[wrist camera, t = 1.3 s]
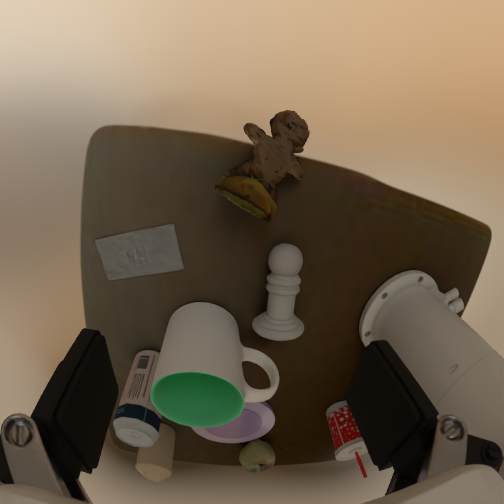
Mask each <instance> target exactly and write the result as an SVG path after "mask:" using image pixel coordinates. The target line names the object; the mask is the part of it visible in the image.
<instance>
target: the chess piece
mask: <svg viewBox="0 0 504 504" xmlns="http://www.w3.org/2000/svg"><path fill="white" fill-rule="evenodd" d="M268 263H269V267H270V270H271V271H272V272H271V273H270V274H269V275H268V276H267V281H268V283H267V284H266V289H267V290H268V291H269V294H268V304H267V311H266V312H263V313H262V314H260V315H258V316H257V317H256V318H254V320H253V323H252V326H253V329H254V331H255V332H256V333H258V334H259V335H260V336H262V337H264V338H267V339H271V340H277V341H287V340H292V339H295V338H297V337H299V336H300V335H301V334H302V333H303V331H304V324H303V323H302V321H301V320H300V319H298V318H297V317H296V316H295V315H294V314H293V312H294V305H295V297H296V294H297V293H299V291H300V287H299V286H298V285H299V284H300V283H301V279H300V278H299V275H298V273H299V271H300V270H301V267H302V263H303V257H302V254H301V251H300V250H299V249H298V248H297V247H296V246H294V245H291V244H279V245H277V246H275V247H274V248H273V249H272V251H271V252H270V255H269V260H268Z"/></svg>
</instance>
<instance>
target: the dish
mask: <svg viewBox="0 0 504 504" xmlns="http://www.w3.org/2000/svg"><path fill="white" fill-rule="evenodd" d="M274 423H275V415H274V411H273V409H272V407H271V406H270V405H269V404H268V403H266V402H265V401H263V402H257V403H252V402H245V406H244V409H243V411H242V413H241V414H240V415H239V416H238V417H237V418H236V419H235V420H233V421H231V422H229V423H227V424H224V425H221V426H217V427H209V428H198V427H191V428H192V429H193V430H194V431H195V432H196V433H197V434H199V435H200V436H202V437H204V438H206V439H209V440H212V441H216V442H222V443H241V442H247V441H251V440H254V439H257V438H259V437H261V436H263V435H265V434H266V433H267V432H269V431H270V430H271V428H272V427H273V425H274Z"/></svg>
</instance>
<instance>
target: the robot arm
mask: <svg viewBox="0 0 504 504" xmlns="http://www.w3.org/2000/svg"><path fill="white" fill-rule="evenodd" d="M458 296H459V292H458V290H457V289H456V288H453V289H452V290H450V291H448V292H447V293H446V294H444V293H441V292H440V291H439V290H438V287H437V284H436V283H435V281H434V279H432V278H431V277H430V276H429V275H427V274H426V273H424V272H422V271H418V270H410V271H405V272H402V273H400V274H397V275H395V276H394V277H392V278H390V279H389V280H387V281H386V282H385V283H384V284H383V285H381V286H380V287H379V288H378V289H377V291H376V292H375V293H374V294H373V295H372V297H371V298H370V299H369V301H368V302H367V304H366V306H365V308H364V310H363V312H362V315H361V318H360V324H359V335H360V338H361V340H362V342H363V344H364V345H365V347H366V348H365V350H364V352H363V355H362V357H361V359H360V362H359V364H358V366H357V369H356V371H355V373H354V375H353V378H352V380H351V382H350V384H349V386H348V388H347V390H346V393H345V400H346V402H347V404H348V407H349V409H350V411H351V413H352V416H353V418H354V420H355V423H356V425H357V427H358V429H359V432H360V434H361V436H362V439H363V441H364V443H365V446H366V448H367V450H368V453H369V455H370V457H371V460H372V462H373V463H374V465H377V466H378V468H379V471H381V470H384V469H387V468H390V467H392V466H393V468H394V473H393V476H392V479H391V482H390V484H389V487H388V489H387V492H386V494H385V496H383V497H381V498H378V499H375V500H372V501H369V502H365V503H362V504H504V359H503V358H502V357H501V356H500V355H499V354H498V353H497V352H496V351H495V350H494V349H493V348H492V347H491V346H490V345H489V344H488V343H487V342H486V341H485V340H484V339H483V338H482V337H481V336H480V335H479V334H478V333H476V332H475V331H474V330H473V329H472V328H471V327H470V326H469V325H468V324H467V323H466V322H464V321H463V320H462V319H461V318H460V317H459V316H458V315H457V313H458V312H460V311H461V310H463V308H464V303H463V301H462V300H461V298H457V297H458ZM455 298H457V299H455ZM454 299H455V300H454ZM452 300H453V301H452ZM449 301H451V302H450V303H449V304H448V302H449ZM117 397H118V385H117V382H116V378H115V375H114V371H113V368H112V364H111V360H110V357H109V353H108V349H107V345H106V340H105V337H104V336H103V335H101V334H100V332H99V331H98V330H92V329H86V328H84V329H82V331H81V332H80V334H79V335H78V337H77V338H76V340H75V342H74V343H73V345H72V346H71V348H70V350H69V351H68V353H67V355H66V356H65V358H64V360H63V361H61V362H60V364H59V365H58V367H57V368H56V370H55V372H54V374H53V375H52V377H51V379H50V381H49V382H48V384H47V386H46V388H45V390H44V391H43V394H42V395H41V397H40V399H39V401H38V403H37V405H36V407H35V409H34V411H33V413H32V415H31V417H29V416H27V415H25V414H21V413H18V414H13V415H10V416H9V417H7V418H6V419H5V420H4V422H3V424H2V426H1V434H0V504H93V503H92V502H91V500H90V499H89V497H88V495H87V494H86V492H85V490H84V488H83V487H82V485H81V483H80V481H79V479H78V478H79V475H80V472H81V471H83V472H86V473H89V474H91V473H92V469H93V468H94V469H95V468H97V466H98V463H99V459H100V455H101V451H102V448H103V444H104V440H105V437H106V433H107V430H108V426H109V423H110V420H111V416H112V413H113V410H114V407H115V403H116V400H117Z"/></svg>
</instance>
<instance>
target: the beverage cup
mask: <svg viewBox="0 0 504 504" xmlns="http://www.w3.org/2000/svg"><path fill="white" fill-rule="evenodd" d="M326 416H327V420H328V424H329V428H330V431H331V435H332V439H333V443H334V447H335V450H336V452H335V456H336V459H337V460H339V461H346V460H351V459H354V458H357V460H358V463H359V466H360V468H361V471H362V473H363V476H364V478H366V477H367V475H366V472H365V469H364V467H363V464H362V462H361V459H360V457H359V456H361V455H363V454H365V453H366V452H368V450H367V448H366V446H365V443H364V441H363V439H362V436H361V434H360V432H359V429H358V427H357V425H356V423H355V420H354V418H353V416H352V413H351V411H350V409H349V407H348V404H347V402H346V401H340V402H337V403H335V404H333V405H331V406H330V407H329V408H328V409H327V411H326Z"/></svg>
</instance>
